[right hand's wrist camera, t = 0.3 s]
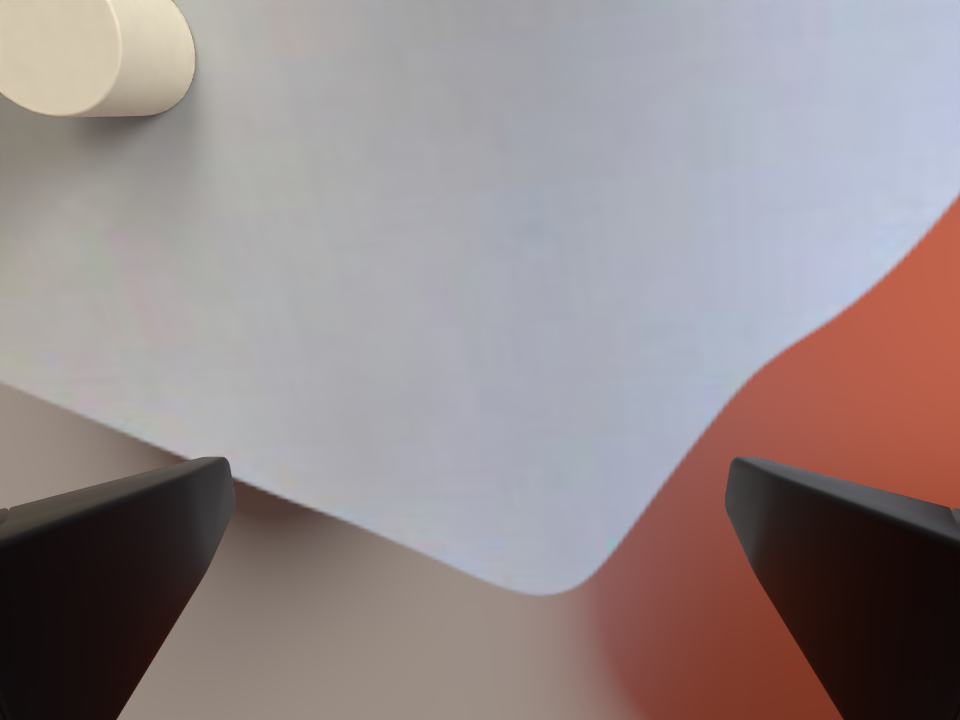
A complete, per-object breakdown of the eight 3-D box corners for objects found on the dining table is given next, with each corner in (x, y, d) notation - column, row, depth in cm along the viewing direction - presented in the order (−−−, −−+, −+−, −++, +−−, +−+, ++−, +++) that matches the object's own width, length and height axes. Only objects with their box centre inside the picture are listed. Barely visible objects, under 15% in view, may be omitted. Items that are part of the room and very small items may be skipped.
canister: (43, 51, 21) (-73, 35, 17) (110, -57, 20) (4, -105, 16) (151, 142, 22) (69, 150, 18) (221, 45, 21) (151, 27, 17)
